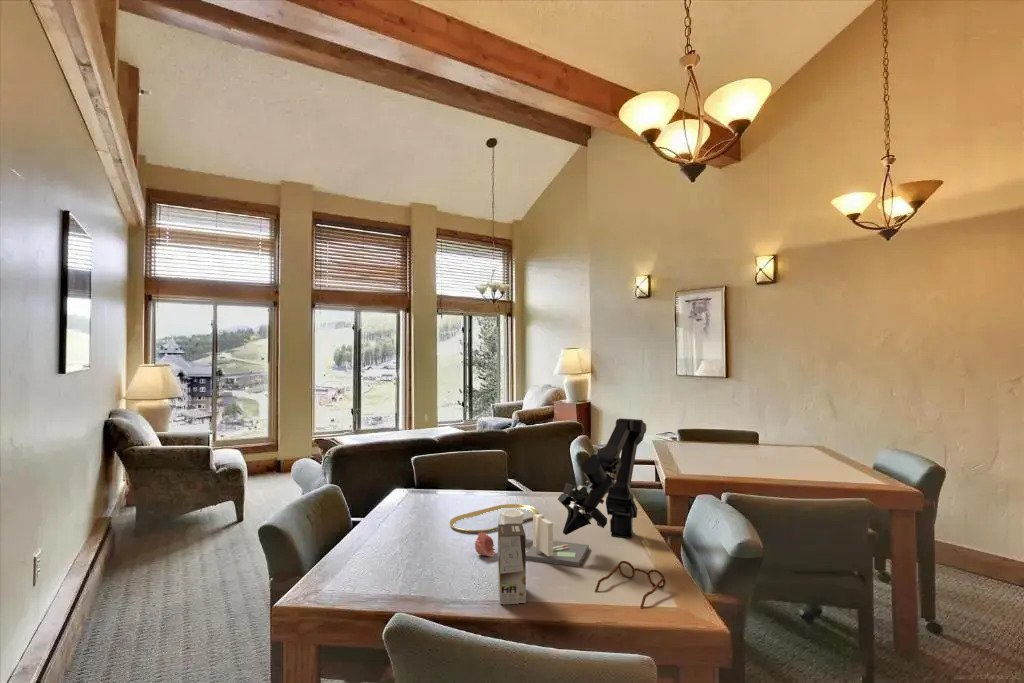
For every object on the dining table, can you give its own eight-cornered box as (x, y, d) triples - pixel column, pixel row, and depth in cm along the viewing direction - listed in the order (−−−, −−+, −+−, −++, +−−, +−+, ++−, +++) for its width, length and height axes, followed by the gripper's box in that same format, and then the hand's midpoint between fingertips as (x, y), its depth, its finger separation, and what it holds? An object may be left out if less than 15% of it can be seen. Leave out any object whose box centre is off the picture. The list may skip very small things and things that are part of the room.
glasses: (666, 591, 129) (666, 571, 129) (641, 611, 119) (641, 589, 119) (619, 576, 138) (619, 557, 138) (593, 593, 128) (592, 573, 128)
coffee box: (526, 604, 122) (526, 535, 122) (499, 605, 121) (499, 536, 122) (522, 586, 131) (522, 522, 131) (497, 587, 130) (497, 523, 131)
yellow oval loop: (548, 516, 189) (548, 511, 189) (471, 539, 166) (471, 534, 166) (513, 505, 203) (513, 501, 203) (439, 525, 180) (439, 520, 180)
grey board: (588, 548, 156) (588, 544, 156) (579, 566, 143) (578, 562, 143) (537, 542, 161) (537, 538, 161) (523, 559, 148) (523, 554, 148)
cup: (512, 543, 160) (512, 517, 161) (491, 535, 168) (491, 510, 168) (528, 538, 165) (528, 512, 165) (507, 530, 173) (507, 506, 173)
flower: (465, 534, 152) (480, 525, 151) (481, 538, 158) (495, 529, 157) (472, 560, 147) (487, 551, 146) (488, 563, 153) (503, 555, 152)
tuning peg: (531, 549, 152) (531, 513, 152) (562, 543, 156) (561, 508, 157) (546, 560, 144) (546, 522, 144) (578, 553, 148) (578, 516, 149)
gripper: (562, 467, 160) (531, 507, 155) (598, 480, 143) (564, 526, 138) (584, 489, 163) (554, 530, 158) (621, 505, 146) (589, 551, 141)
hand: (564, 533), depth 149 cm, fingers closed
